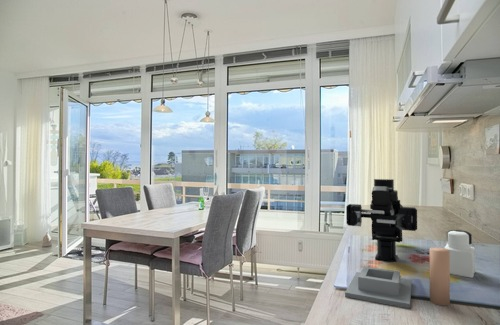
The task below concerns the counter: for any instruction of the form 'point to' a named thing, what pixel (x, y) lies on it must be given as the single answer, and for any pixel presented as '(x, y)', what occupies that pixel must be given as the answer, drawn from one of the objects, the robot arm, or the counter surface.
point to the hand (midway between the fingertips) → (376, 221)
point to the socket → (380, 287)
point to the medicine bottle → (461, 253)
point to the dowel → (440, 276)
